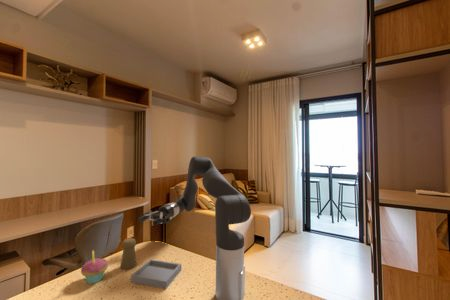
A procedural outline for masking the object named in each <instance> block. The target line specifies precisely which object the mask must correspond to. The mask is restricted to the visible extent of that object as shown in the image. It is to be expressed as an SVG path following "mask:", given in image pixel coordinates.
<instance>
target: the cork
mask: <svg viewBox="0 0 450 300" xmlns="http://www.w3.org/2000/svg"><path fill="white" fill-rule="evenodd" d="M136 246H137V240H136V239H135V238H132V237H131V238H129V237H128V238H125V239H123V241H122V243H121V247H122V249H123V251H122V255H121V262H120V269H121V270H122V271H130V270H133V269H135V268H136V267H137V266H138V265H137V256H136V255H137V254H136V250H135V248H136Z"/></svg>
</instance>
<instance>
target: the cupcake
mask: <svg viewBox="0 0 450 300" xmlns="http://www.w3.org/2000/svg"><path fill="white" fill-rule="evenodd" d="M91 255H92V256H91V257H92V258H91V259H89V260H88V261H86V262H85V263H84V264H83V265H81V268H80V273H81V275H82V276H84V278H85V280H86V282H87V284H96V283H98V282H100V281H101V280H102V279H103V277H104V273H105V272H106V270H108V269H107V268H108V266H109V265H108V263H109V262H108V260H106V259H105V258H99V257H95V250H92V251H91Z"/></svg>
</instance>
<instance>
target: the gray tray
mask: <svg viewBox="0 0 450 300" xmlns="http://www.w3.org/2000/svg"><path fill="white" fill-rule="evenodd" d="M181 271H182V263H177V262H173V261H172V262H171V261H165V260H164V261H163V260H158V259H151V258H150V259H149V260H147V262H145V263H144V264H142V266H141V267H139V268H138V269H137V270H136V271H135V272H133V273H132V274H131V276H130V283H133V284H138V285H143V286H148V287H154V288H159V289H164V290H167V289H168V287H169V286H170V285H171V284H172V282H173V281H174V280H175V279H176V277H177V276H178V275H179V274H180V273H181Z"/></svg>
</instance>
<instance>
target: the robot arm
mask: <svg viewBox="0 0 450 300" xmlns="http://www.w3.org/2000/svg"><path fill="white" fill-rule="evenodd" d="M195 176H203V177H202V179H201V181H202V185H203V188H204V190H205V191H206V192H207V194H208V195H209V196H210V197H212V198H214V199H216V200H215V203H214V212H215V213H214V215H215V216H214V217H215V239H216V242H215V246H216V248H215V299H216V300H244V297H245V294H246V292H245V291H246V287H245V285H246V265H245V237H244V235H243V234H242V233H241V232H239V231H237V230H232V229H230V226H229V225H236V224H242V223H246V222H248V221H249V220H250V218H251V215H252V208H251V204H250V202H249V201H248V198H247V197H246V196H245V195H244V194H243V193H242V192H240V191H239V190H237V189H236V188H235V187H234V186H233V185H232V184H231V183H229V181H228V180H227V179H226V178H225V177H224V175H223V174H222V173H221V172H220V171H219V170H218V169H217V168H216V166H215V164H214V162H213V161H212V159H211V158H209V157H208V156H207V157H206V156H192V157H191V158H190V161H189V162H188V169H187V176H186V183H185V184H186V185H185V188H184V190H183V194H181V195H180V197H178V199H176V200H175V201H173V202H169V203H167V204H165V205H162V206H160V207H159V208H157V210H155V211H153V210H149V211H146V212H143V213H142V214H141V217H138V221H137V223H140V224H142V223H144V222H146V221H152V226H154V227H155V226H157V225H159V224H165V225H166V224H168V223H169V222H171V221H173V218H175V217H177V215H179V214H181V213H183V212H184V211H186V212H187V213H188V212H189V213H190V212H191V211H193V210H194V209H195V207H196V201H197V199H196V195H197V193H198V190H199V186H198V185H199V184H198V183H197V180H196V179H195Z"/></svg>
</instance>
